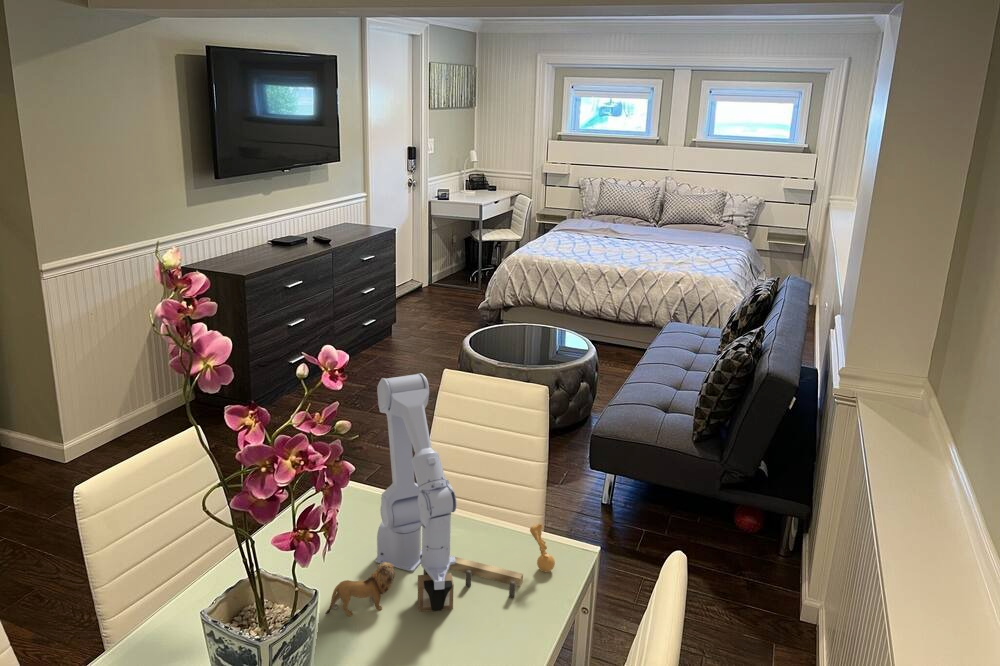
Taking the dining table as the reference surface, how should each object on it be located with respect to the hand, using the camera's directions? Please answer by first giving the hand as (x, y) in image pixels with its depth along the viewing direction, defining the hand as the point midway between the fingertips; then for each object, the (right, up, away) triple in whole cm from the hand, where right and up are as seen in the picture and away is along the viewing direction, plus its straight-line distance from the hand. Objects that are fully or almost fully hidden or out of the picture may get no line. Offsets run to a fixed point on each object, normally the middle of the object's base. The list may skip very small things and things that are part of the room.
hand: (435, 598), depth 163 cm
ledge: (+7, +1, +9) cm, 12 cm away
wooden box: (0, -1, 0) cm, 2 cm away
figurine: (+23, +2, +13) cm, 26 cm away
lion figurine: (-15, -1, -1) cm, 15 cm away
